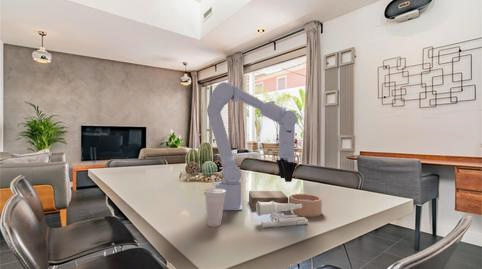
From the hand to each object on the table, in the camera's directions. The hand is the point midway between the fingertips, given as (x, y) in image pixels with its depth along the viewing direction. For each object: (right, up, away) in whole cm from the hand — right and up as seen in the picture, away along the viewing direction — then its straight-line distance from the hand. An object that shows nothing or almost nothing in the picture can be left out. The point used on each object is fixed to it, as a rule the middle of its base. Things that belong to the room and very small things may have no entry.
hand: (285, 179), depth 90 cm
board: (-7, -10, +2) cm, 12 cm away
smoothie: (-24, -9, -20) cm, 33 cm away
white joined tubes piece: (-4, -10, -19) cm, 21 cm away
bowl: (+5, -10, -7) cm, 13 cm away
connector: (+5, -9, -6) cm, 12 cm away
